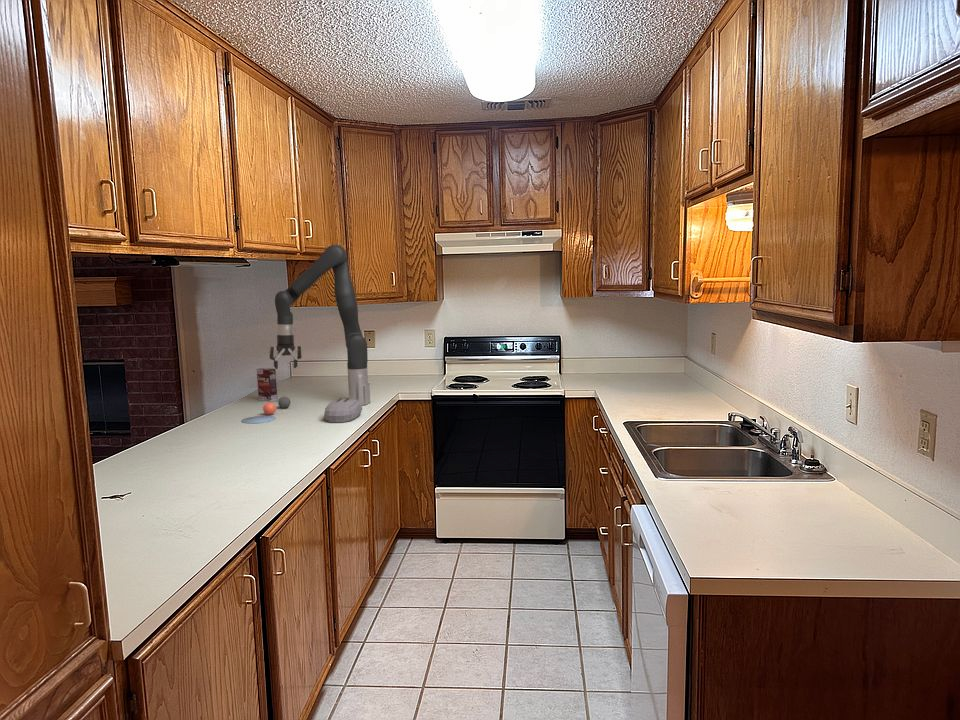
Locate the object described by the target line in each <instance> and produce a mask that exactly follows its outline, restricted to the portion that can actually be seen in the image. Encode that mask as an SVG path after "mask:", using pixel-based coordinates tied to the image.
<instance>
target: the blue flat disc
mask: <svg viewBox="0 0 960 720" xmlns="http://www.w3.org/2000/svg"><path fill="white" fill-rule="evenodd" d="M274 420H276V417H275V416H273V415H256V416H250V417H249V416H248V417H246V418H243V419H241V420H240V422H241V423H242V424H251V425H252V424H262V423H263V424H264V423H267V422H268V423H269V422H272V421H274Z"/></svg>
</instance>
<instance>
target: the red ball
mask: <svg viewBox="0 0 960 720" xmlns="http://www.w3.org/2000/svg"><path fill="white" fill-rule="evenodd" d="M262 410H263V413H264V414H265V415H266V416H273V414H275V412H276V411H277V407H276V404H275V403H273V402H266V403H265V404H263V407H262Z"/></svg>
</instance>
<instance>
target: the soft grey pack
mask: <svg viewBox="0 0 960 720" xmlns="http://www.w3.org/2000/svg"><path fill="white" fill-rule="evenodd" d="M362 412H363V405H362V404H361V403H360V402H359V401H358V400H351V399H349V397H347V398H343V397H340V398H338V399H337V400H334V401H331V402H329V403H328V404H327V405H326V407H325V409H324V414H323V415H324V418H325V421H326V422H329V423H346V422H350V421H353V420H356V419H357V418H358V417H359V416H360V415H361V413H362Z"/></svg>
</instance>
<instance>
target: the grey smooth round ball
mask: <svg viewBox="0 0 960 720" xmlns="http://www.w3.org/2000/svg"><path fill="white" fill-rule="evenodd" d="M277 403H278V406H279V407H280V408H282V409H287V408H289V407H290V406H291V399H290V398H289V397H287V396H281V397H280V398H279V399H278V400H277Z"/></svg>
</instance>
